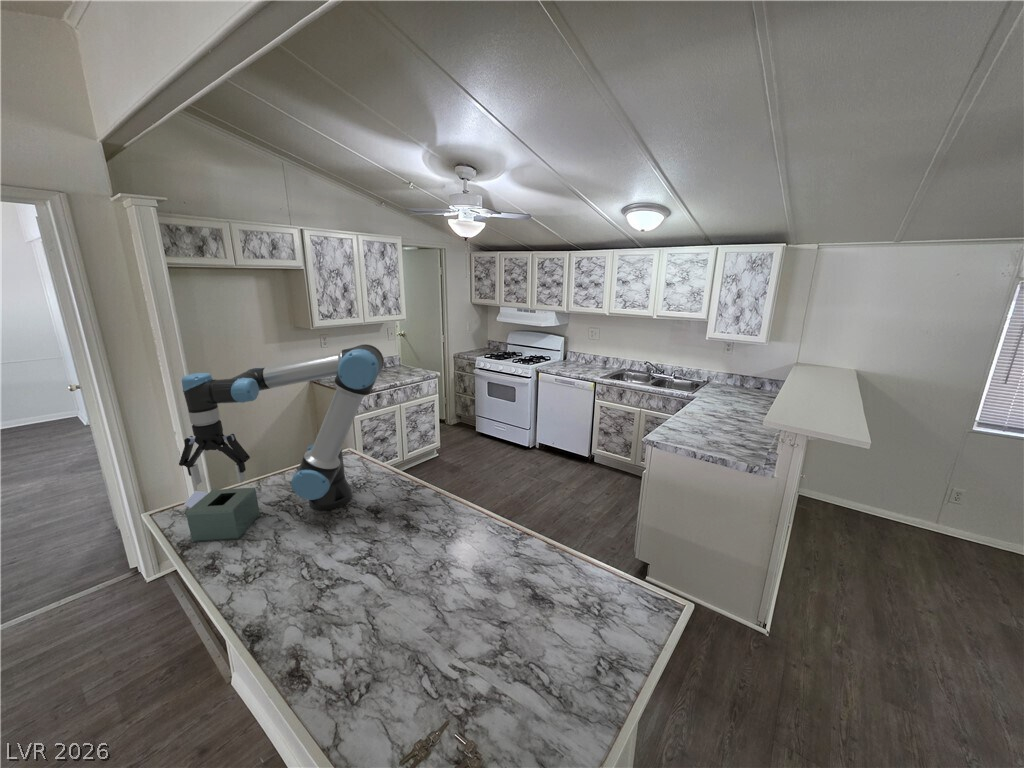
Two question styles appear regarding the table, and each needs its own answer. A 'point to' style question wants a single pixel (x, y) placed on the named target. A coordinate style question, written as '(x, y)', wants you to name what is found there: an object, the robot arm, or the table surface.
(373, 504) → the table surface
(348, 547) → the table surface
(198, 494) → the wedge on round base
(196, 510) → the coin box
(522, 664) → the table surface
